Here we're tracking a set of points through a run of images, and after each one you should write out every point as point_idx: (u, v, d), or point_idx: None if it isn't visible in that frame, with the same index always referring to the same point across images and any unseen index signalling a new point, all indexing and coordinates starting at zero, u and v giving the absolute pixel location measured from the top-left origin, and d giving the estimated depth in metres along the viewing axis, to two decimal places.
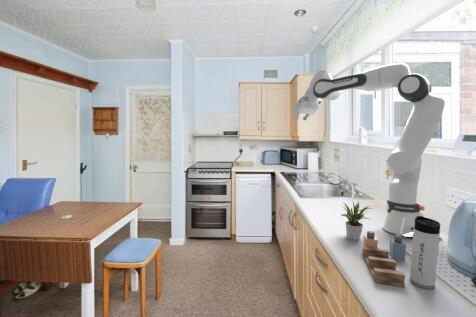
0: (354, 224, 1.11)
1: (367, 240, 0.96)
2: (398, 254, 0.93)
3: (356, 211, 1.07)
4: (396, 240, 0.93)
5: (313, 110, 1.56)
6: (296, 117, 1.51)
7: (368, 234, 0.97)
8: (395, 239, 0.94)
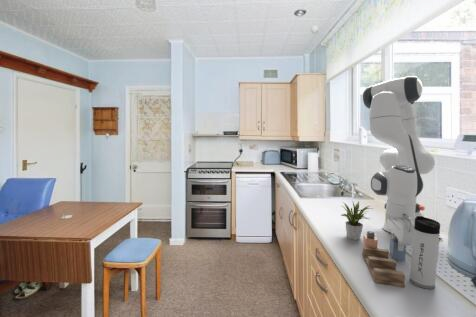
0: (354, 224, 1.11)
1: (367, 240, 0.96)
2: (398, 254, 0.93)
3: (356, 211, 1.07)
4: (396, 240, 0.93)
5: None
6: (401, 248, 0.91)
7: (368, 234, 0.97)
8: (395, 239, 0.94)
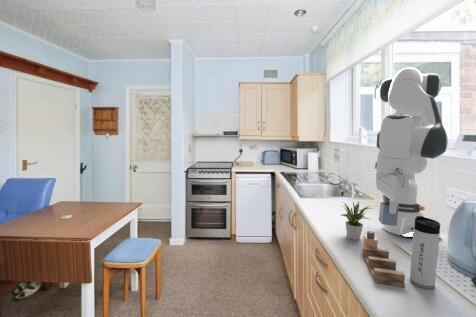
0: (354, 224, 1.11)
1: (367, 240, 0.96)
2: (389, 219, 0.78)
3: (356, 211, 1.07)
4: (387, 202, 0.79)
5: None
6: (393, 210, 0.76)
7: (368, 234, 0.97)
8: (386, 201, 0.79)
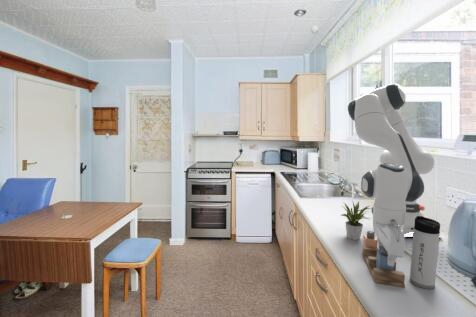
0: (354, 224, 1.11)
1: (367, 240, 0.96)
2: None
3: (356, 211, 1.07)
4: (383, 253, 0.80)
5: None
6: (391, 262, 0.76)
7: (368, 234, 0.97)
8: (382, 252, 0.81)
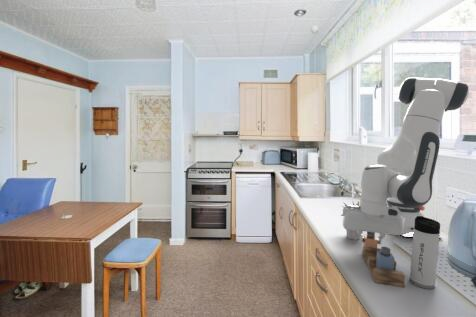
0: None
1: (367, 240, 0.96)
2: None
3: None
4: (383, 253, 0.80)
5: (392, 227, 0.93)
6: (360, 239, 0.98)
7: (368, 234, 0.97)
8: (382, 252, 0.81)
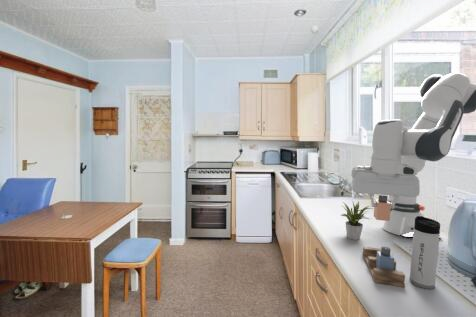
0: (354, 224, 1.11)
1: (379, 204, 0.86)
2: None
3: (356, 211, 1.07)
4: (383, 253, 0.80)
5: (407, 188, 0.84)
6: (371, 203, 0.88)
7: (380, 197, 0.87)
8: (382, 252, 0.81)
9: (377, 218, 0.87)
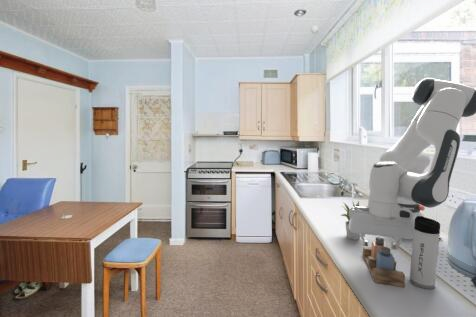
0: None
1: (376, 247, 0.88)
2: None
3: None
4: (383, 253, 0.80)
5: (403, 230, 0.85)
6: (362, 242, 0.90)
7: (377, 240, 0.88)
8: (382, 252, 0.81)
9: None
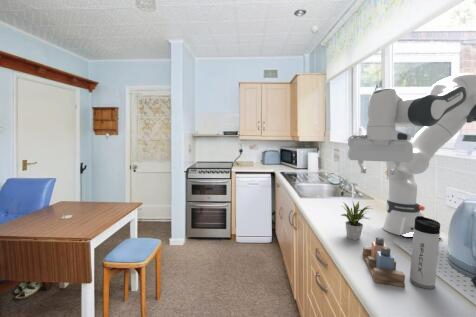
0: (354, 224, 1.11)
1: (376, 247, 0.88)
2: None
3: (356, 211, 1.07)
4: (383, 253, 0.80)
5: (401, 154, 0.87)
6: (361, 170, 0.92)
7: (377, 240, 0.88)
8: (382, 252, 0.81)
9: None
